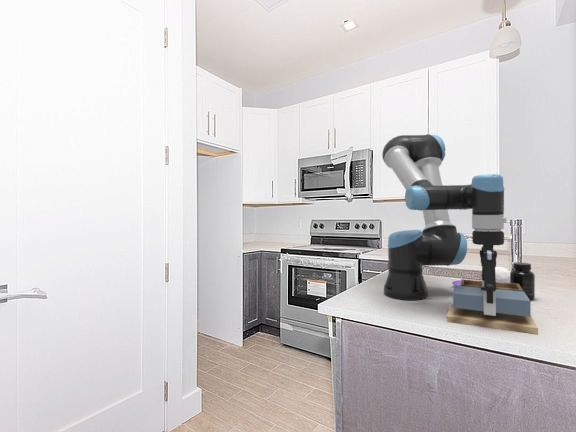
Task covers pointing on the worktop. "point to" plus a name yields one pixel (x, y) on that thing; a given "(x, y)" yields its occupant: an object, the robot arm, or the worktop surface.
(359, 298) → the worktop surface
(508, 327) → the oak cutting board
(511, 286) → the walnut spice box
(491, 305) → the robot arm
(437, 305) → the worktop surface
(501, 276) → the ball
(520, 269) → the supplement bottle
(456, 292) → the slate lid
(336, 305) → the worktop surface
